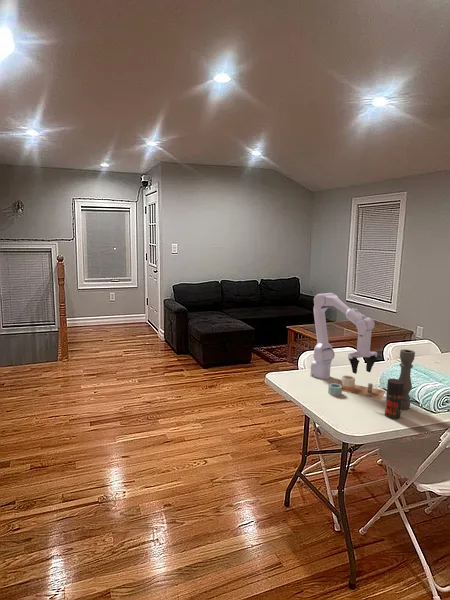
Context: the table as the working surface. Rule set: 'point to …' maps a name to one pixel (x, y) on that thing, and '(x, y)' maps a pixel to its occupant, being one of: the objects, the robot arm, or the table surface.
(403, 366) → the candle holder
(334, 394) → the teal sleeve
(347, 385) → the ivory sleeve
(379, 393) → the pin board
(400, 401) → the deodorant
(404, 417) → the table surface
